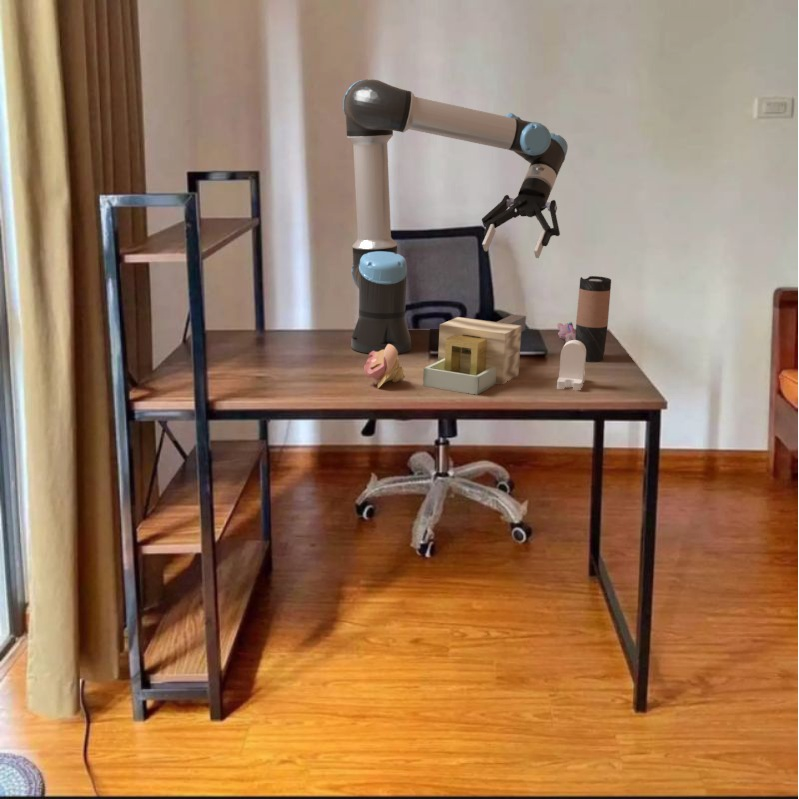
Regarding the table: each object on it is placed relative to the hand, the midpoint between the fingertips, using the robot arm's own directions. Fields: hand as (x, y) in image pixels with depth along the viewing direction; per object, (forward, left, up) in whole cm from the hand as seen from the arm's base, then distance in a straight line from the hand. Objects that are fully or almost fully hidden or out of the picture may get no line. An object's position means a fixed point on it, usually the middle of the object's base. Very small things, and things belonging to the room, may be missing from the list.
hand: (510, 251), depth 250 cm
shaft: (+3, -14, -19) cm, 24 cm away
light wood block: (+3, -24, -25) cm, 35 cm away
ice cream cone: (-11, -43, -26) cm, 52 cm away
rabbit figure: (+10, +21, -26) cm, 35 cm away
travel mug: (+20, +6, -26) cm, 33 cm away
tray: (+3, -35, -25) cm, 43 cm away
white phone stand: (+24, -20, -26) cm, 41 cm away
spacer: (+3, -32, -25) cm, 41 cm away
